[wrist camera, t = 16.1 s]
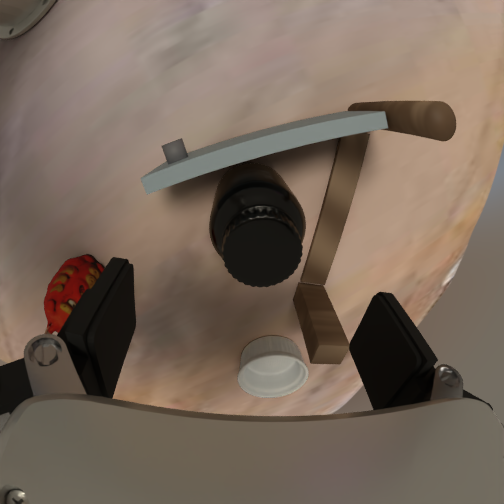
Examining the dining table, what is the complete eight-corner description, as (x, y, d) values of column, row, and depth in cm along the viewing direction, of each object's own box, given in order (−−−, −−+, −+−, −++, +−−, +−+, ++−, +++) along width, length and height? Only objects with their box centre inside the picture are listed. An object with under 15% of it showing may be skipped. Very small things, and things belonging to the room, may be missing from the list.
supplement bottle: (204, 211, 28) (184, 274, 17) (236, 148, 25) (236, 172, 14) (265, 240, 29) (281, 315, 19) (300, 183, 27) (341, 229, 16)
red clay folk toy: (126, 296, 32) (80, 395, 18) (87, 309, 33) (38, 397, 19) (94, 242, 29) (20, 328, 15) (56, 261, 29) (-12, 340, 16)
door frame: (347, 98, 23) (427, 92, 12) (374, 108, 24) (462, 113, 12) (293, 299, 33) (317, 389, 21) (317, 302, 33) (348, 388, 22)
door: (340, 96, 23) (379, 90, 15) (347, 123, 24) (388, 128, 17) (162, 145, 24) (132, 157, 17) (172, 172, 25) (146, 194, 18)
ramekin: (252, 381, 40) (254, 404, 36) (225, 344, 36) (225, 369, 32) (310, 363, 38) (316, 386, 34) (290, 321, 35) (296, 346, 31)
